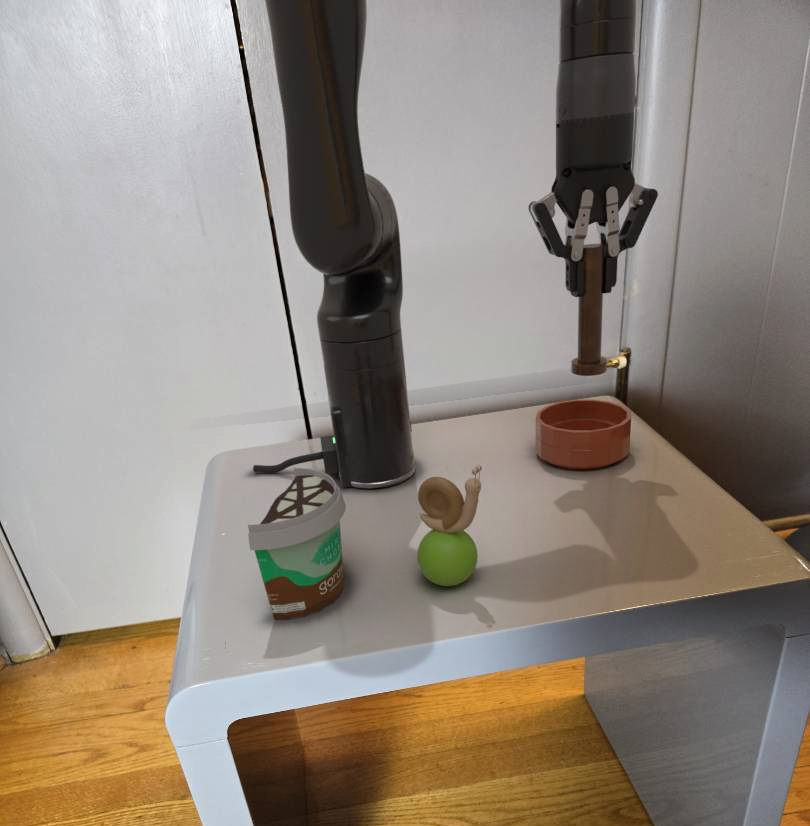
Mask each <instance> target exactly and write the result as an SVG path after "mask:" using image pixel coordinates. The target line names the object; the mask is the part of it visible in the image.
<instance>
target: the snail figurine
mask: <svg viewBox="0 0 810 826" xmlns="http://www.w3.org/2000/svg"><path fill="white" fill-rule="evenodd" d="M482 469H483V467H482V465H480V464H477V465H475V467H474V468H472V469H471V474H472V475H474V477H469V478H468V479H466V481H465V482H464V490H465V497H463V494H462V492H461V490H460V489H459V488H458V486H457V485H456V484H455V483H454V482H452V481H451V480H449V479H447V478H446V477H442V476H432V477H429V478H426V479H425V480H424V481H422V483H421V484H420V486H419V487H418V492H417V499H418V503H419V505H420V507H421V509H422V511H423V512H424V513H420V514H419V517H420V519H421V521H422V522H423V523H424V525H426V526H427V527H428V528H429V529H430V531H429V532H427V533H426V534H425V535H424V536H423V538H422V539H421V541H420V542H419V545H418V547H417V552H416V554H417V555H416V558H417V564H418V567H419V569H420V572H421V573H422V574H423V576H424V577H425V578H426V579H427V580H429V581H430V582H432V583H433V584H436V585H438V586H442V587H453V586H457V585H460V584H462V583H463V582H465V581H466V580H468V579H469V578H470V577H471V575H472V574H473V573H474V571H475V569H476V567H477V564H478V557H479V555H478V549H477V545H476V543H475V541H474V539H473V538H472V537H471V535H470V534H469V533H467V532H466V531H465V530H467V529H468V528H469V527H470V526H471V524H472V523H473V521H474V519H475V516H476V514H477V510H478V509H477V508H478V504H479V495H480V492H481V490H482V483H481V481H480V477H481V476H480V475H481V471H482ZM477 474H478V478H477Z"/></svg>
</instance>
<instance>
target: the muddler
mask: <svg viewBox="0 0 810 826" xmlns="http://www.w3.org/2000/svg"><path fill="white" fill-rule="evenodd" d="M581 260H582V261H584V283H583V296H582V297H578V301H577V302H578V307H577V309H578V310H577V357H575V358H573V359H572V360H571V361H570V371H571V373H572V374H573V375H575V376H583V377H592V376H593V377H594V376H600V375H602V374H605V373H606V372H607V371H608V359H607V358H606V357H603V356H602V337H603V336H602V335H603V333H602V332H603V309H604V308H603V307H604V304H603V303H604V293H603V277H604V244H600V243H586V244H584V246H583V253H582V258H581Z"/></svg>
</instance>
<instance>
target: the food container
mask: <svg viewBox="0 0 810 826" xmlns="http://www.w3.org/2000/svg"><path fill="white" fill-rule="evenodd" d="M293 475H294V479H293V480H292V482H291V483H290V485H289V486H288V487H287V488H286V489H285V490H284V491H283V492H282V493H280V494H279V495H278V496H277V497H276V498H275V499H274V501H273V502H272V503H271V506H270V508H269V509H268V511H267V513H266V515H265V516H264V518H263V519H262V520H261V522H260V523H259V524H247V528H248V533H247V534H248V535H247V537H248V542H249V543H248V545H249V550H250V551H254V554H255V557H256V561H257V563H258V568H259V571H260V575H261V578H262V582H263V585H264V589H265V592H266V596H267V599H268V603H269V606H270V610H271V614H272V617H273V620H291V619H297V618H303V617H307V616H309V615H312V614H316V613H319V612H322V611H323V610H324V609H325V608H327V607H330V606H331V605H332V604H334V603H335V602H336V601H337V600H338V599H339V598H340V597H341V596H342V594H343V591H344V588H345V575H344V562H343V549H342V536H341V535H342V534H341V520H342V518H343V517H344V515H345V513H346V509H347V508H346V507H347V504H346V502H345V499H344V496H343V494H342V492H341V488H340V487H339V485H338V483H336V481H335V480H334V478H333V477H331V475H329V474H326V473H325V471H324V472H323V471H320V470H317V469H312V468H308V467H307V468H305V467H293Z"/></svg>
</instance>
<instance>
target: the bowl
mask: <svg viewBox="0 0 810 826" xmlns="http://www.w3.org/2000/svg"><path fill="white" fill-rule="evenodd" d="M631 431H632V411H631V410H630V409H628V408H627V407H626V406H624V405H623V404H620V403H616V402H613V401H610V400H609V401H608V400H601V399H572V400H564V401H557V402H555V403H551V404H548V405H545V406H544V407H542V408H541V409H539V410H538V411H537V412H536V415H535V453H536V455H538V457H539V458H540V459H541V460H543V461H546V462H547V463H549V464H551V465H553V466H555V467H558V468H564V469H568V470H594V469H601V468H606V467H609V466H611V465H613V464H615V463H618V462H619V461H622V460H623V459H624V458H626V457H627V456H628V455H629V454H630V447H631V444H630V443H631Z"/></svg>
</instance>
